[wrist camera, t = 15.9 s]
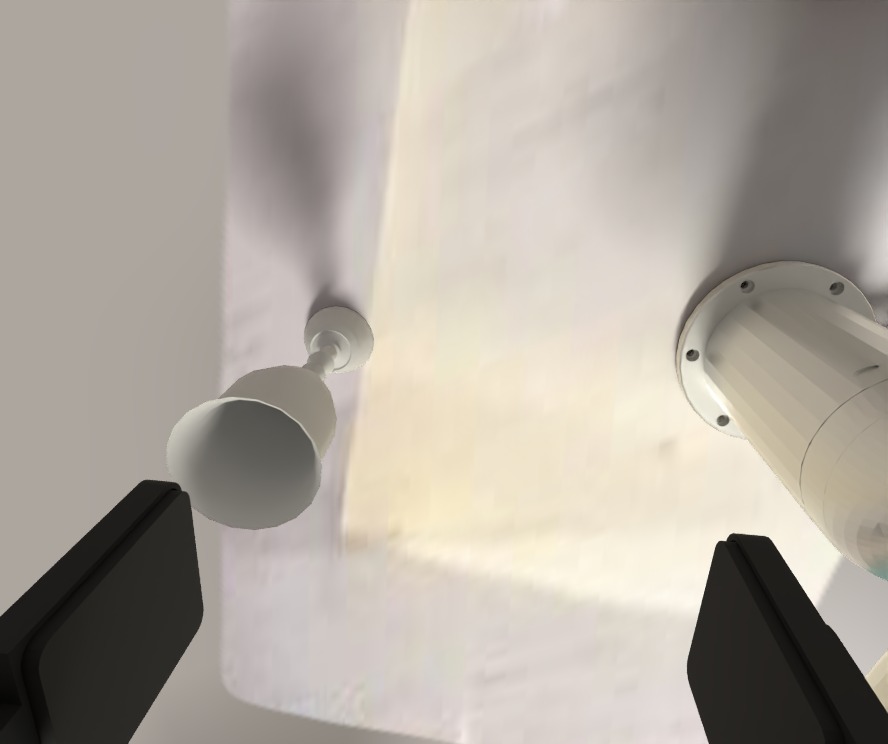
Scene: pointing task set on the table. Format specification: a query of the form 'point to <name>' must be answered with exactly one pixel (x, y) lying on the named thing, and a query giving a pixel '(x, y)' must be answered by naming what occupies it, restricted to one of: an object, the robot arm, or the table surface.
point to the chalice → (268, 431)
